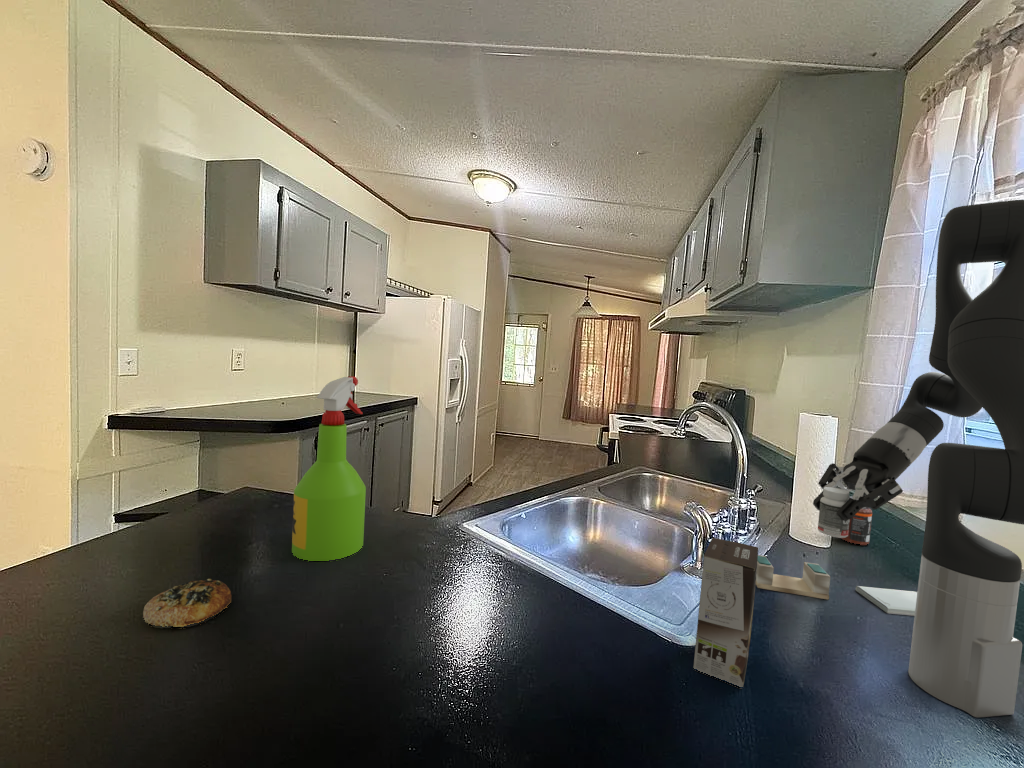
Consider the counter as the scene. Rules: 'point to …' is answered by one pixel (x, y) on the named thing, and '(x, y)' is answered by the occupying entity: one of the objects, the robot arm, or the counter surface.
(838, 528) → the pill bottle
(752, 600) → the coffee box
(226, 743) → the counter surface
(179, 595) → the bread roll
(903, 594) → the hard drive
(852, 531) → the supplement bottle
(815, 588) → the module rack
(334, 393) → the spray bottle
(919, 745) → the counter surface
